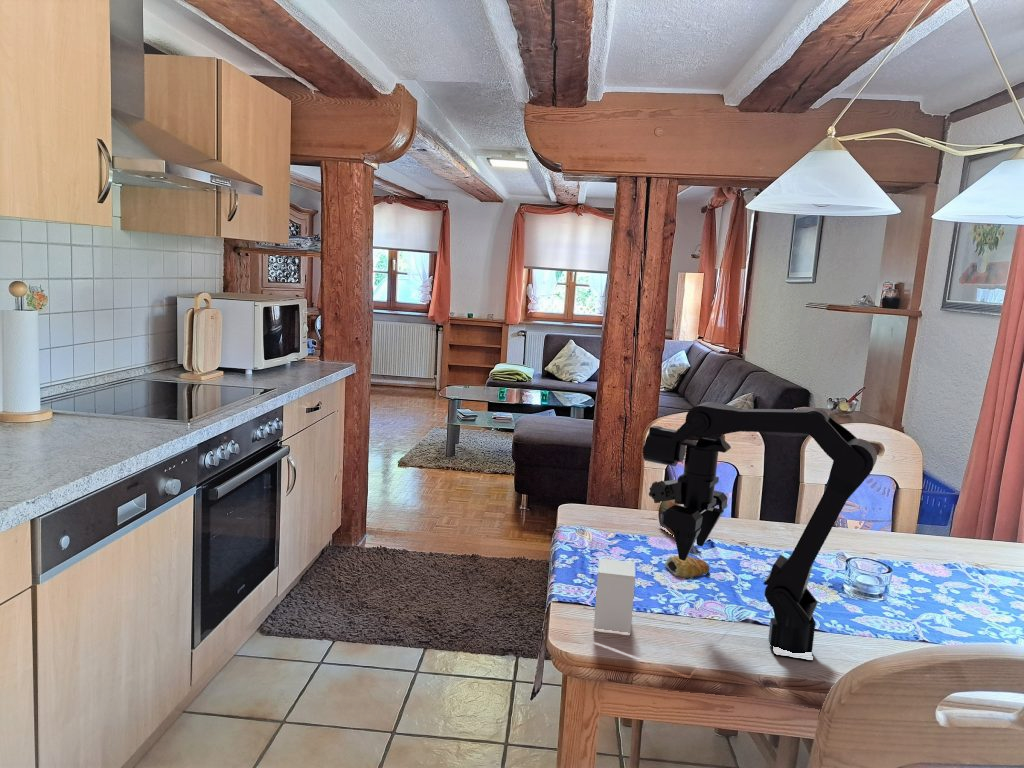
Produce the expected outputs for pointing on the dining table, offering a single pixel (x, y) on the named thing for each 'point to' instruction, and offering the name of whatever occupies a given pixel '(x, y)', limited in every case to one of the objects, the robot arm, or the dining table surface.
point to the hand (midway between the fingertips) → (691, 552)
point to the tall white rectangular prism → (614, 595)
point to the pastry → (687, 566)
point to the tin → (665, 506)
